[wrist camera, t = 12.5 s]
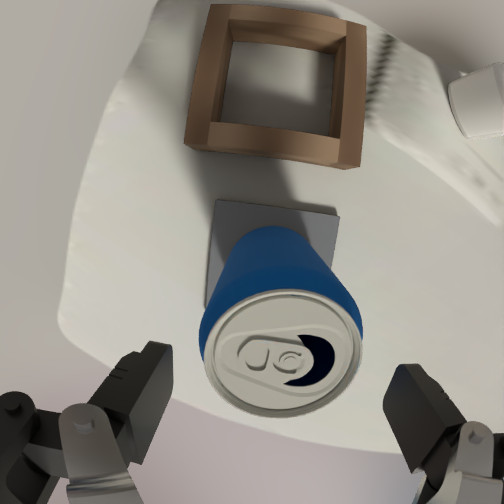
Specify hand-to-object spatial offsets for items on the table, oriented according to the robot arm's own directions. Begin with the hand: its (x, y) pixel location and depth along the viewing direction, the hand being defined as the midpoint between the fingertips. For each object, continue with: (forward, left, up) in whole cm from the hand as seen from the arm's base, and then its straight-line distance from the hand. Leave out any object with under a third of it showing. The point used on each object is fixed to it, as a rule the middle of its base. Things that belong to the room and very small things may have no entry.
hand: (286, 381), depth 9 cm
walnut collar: (+1, -14, -13) cm, 19 cm away
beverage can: (0, 0, -13) cm, 13 cm away
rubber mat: (0, 0, -13) cm, 13 cm away
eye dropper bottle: (-16, -17, -13) cm, 27 cm away
